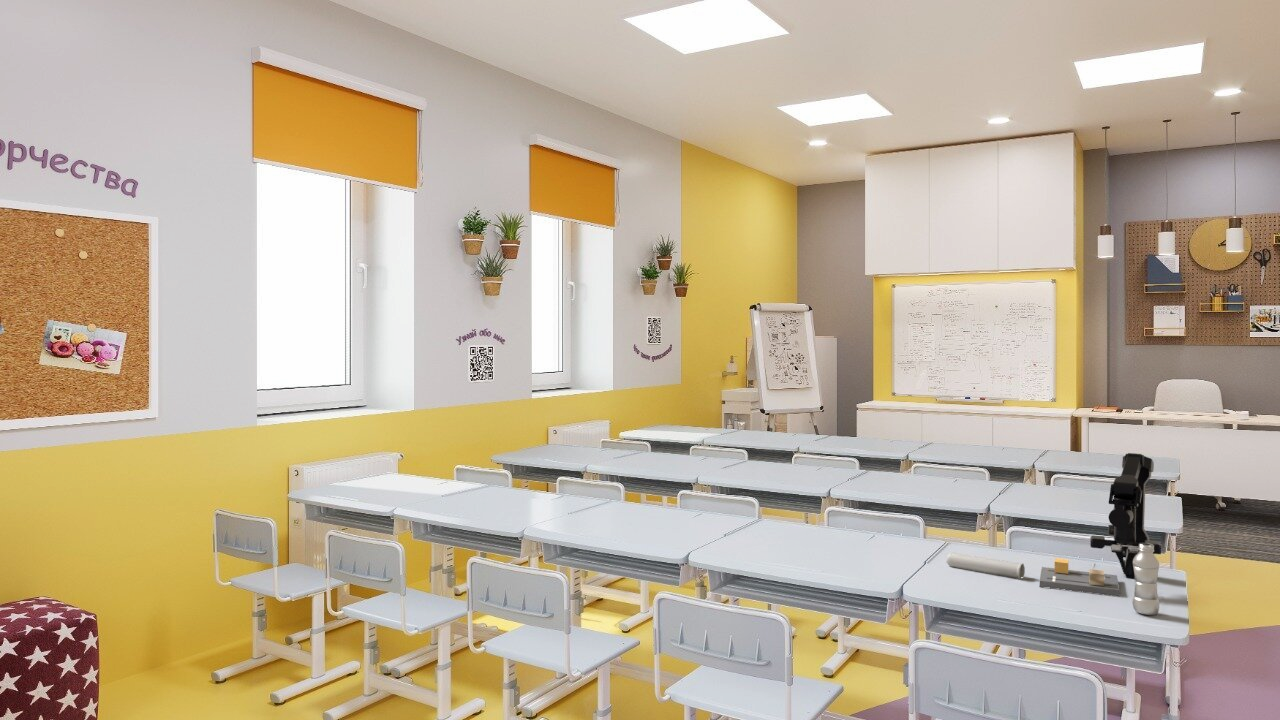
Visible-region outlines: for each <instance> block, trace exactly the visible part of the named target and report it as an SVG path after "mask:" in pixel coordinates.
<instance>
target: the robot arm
mask: <svg viewBox="0 0 1280 720" xmlns="http://www.w3.org/2000/svg"><path fill="white" fill-rule="evenodd" d="M1121 463H1122V464H1121V467H1122V472H1121V475H1119V476H1117V477H1115V479H1114V481H1113V483H1111V484H1110V489H1109V496H1108V497H1109V498H1108V504H1109V505H1113V509H1112V510H1111V511H1110V512H1109V515H1108V521H1109V523H1110V524H1108V527H1107V528H1108V532H1107V534H1108V535H1107V536H1108V537H1109V536H1110V537H1111V536H1112V537H1113V539H1106V537H1105V536H1103V535H1091V536H1090V539H1089V540H1090V543H1089V544H1090V545H1089V546H1090V548H1093V549H1100V550H1101V549H1104V548H1105V547H1110V549H1111V550H1110V552H1111V553H1114V554H1115V555H1116V557H1117V559H1118V561H1119V564H1120V567H1121V569H1122V573H1123V575H1125V578H1129V579H1135V574H1134V567H1133V559H1134V557H1135V556H1136V555H1137V554H1138V553H1139V550H1138V548H1139V543H1149V544H1153V545H1154V552H1153V554H1154V555H1161V554H1162V545H1161V544H1160V542H1159V541H1158V540H1157V541H1156V540H1150V536H1149V534H1148V532H1147V531H1146V529H1145V512H1146V511H1145V508H1146V507H1145V506H1146V503H1145V502H1146V485H1147V482H1148V481H1149V480H1150V479H1151V478H1152V473H1153V472H1154V466H1155V465H1154V461H1153V459H1152V458H1151V457H1147V456H1145V455H1144V454H1142V453H1135V452H1134V453H1133V452H1128V453H1125V455H1124V456H1122V461H1121Z"/></svg>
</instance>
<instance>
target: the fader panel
mask: <svg viewBox="0 0 1280 720" xmlns="http://www.w3.org/2000/svg"><path fill="white" fill-rule="evenodd" d="M1044 587H1050V588H1049V589H1053V588H1059V589H1058V590H1061V589H1065V590H1064V591H1069V590H1072V591H1071V592H1077V591H1081V592H1080V593H1086V592H1092V593H1091V594H1094V593H1099V594H1098V595H1102V594H1104V596H1111V595H1112V596H1111V597H1120V585H1119V579H1118V575H1116V574H1108V573H1104V586H1100V585H1091V584H1090V582H1089V571H1084V570H1083V571H1081V570H1073V569H1068V574H1065V573H1056V572H1055V567H1046V566H1045V567H1044V566H1042V567H1041V571H1040V576H1039V588H1044ZM1082 591H1083V592H1082Z"/></svg>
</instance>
